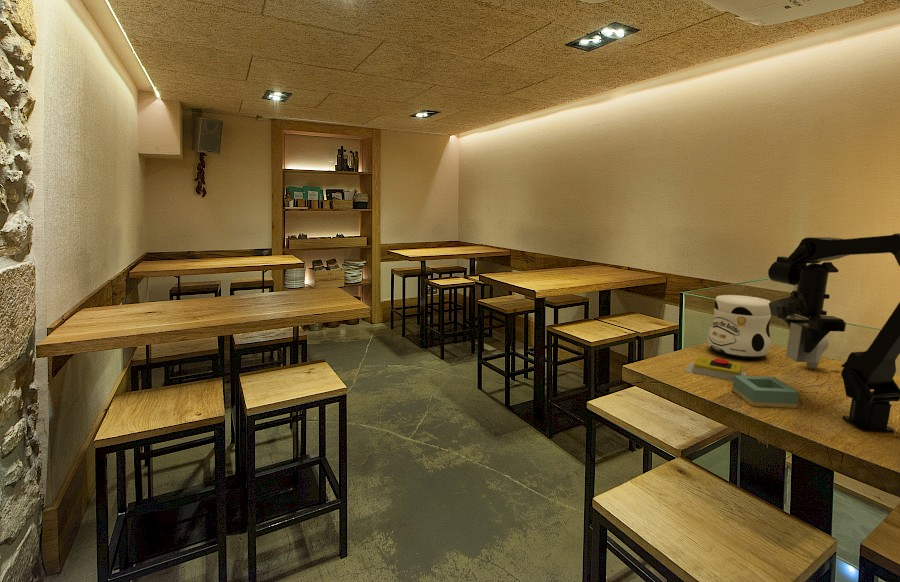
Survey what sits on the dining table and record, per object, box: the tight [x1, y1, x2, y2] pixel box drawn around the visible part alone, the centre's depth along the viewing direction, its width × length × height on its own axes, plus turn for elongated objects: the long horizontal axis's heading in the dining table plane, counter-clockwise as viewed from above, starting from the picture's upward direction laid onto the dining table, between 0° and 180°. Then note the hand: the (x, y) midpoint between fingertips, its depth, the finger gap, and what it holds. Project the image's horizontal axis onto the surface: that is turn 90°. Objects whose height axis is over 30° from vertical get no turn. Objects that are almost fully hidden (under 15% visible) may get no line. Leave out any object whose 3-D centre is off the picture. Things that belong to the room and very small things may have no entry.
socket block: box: [731, 375, 800, 409], centre depth 119 cm, size 10×10×4 cm
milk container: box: [707, 294, 772, 359], centre depth 154 cm, size 17×17×18 cm
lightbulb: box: [806, 336, 830, 370], centre depth 141 cm, size 6×6×11 cm
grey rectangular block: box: [785, 322, 818, 363], centre depth 120 cm, size 4×4×9 cm
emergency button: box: [684, 356, 748, 382], centre depth 137 cm, size 9×4×15 cm
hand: (801, 349), depth 121 cm, fingers closed on grey rectangular block, 4 cm apart
